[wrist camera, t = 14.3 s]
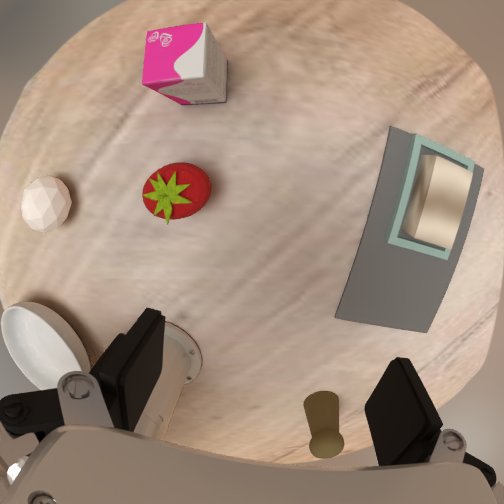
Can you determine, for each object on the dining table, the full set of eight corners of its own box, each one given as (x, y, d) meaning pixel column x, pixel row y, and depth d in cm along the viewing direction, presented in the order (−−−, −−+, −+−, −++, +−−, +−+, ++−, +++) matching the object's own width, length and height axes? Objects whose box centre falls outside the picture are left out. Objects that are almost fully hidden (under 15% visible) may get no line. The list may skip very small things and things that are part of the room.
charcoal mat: (425, 331, 39) (426, 333, 39) (334, 316, 39) (334, 318, 39) (482, 168, 31) (484, 168, 31) (390, 126, 31) (391, 126, 31)
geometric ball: (66, 184, 39) (38, 156, 31) (89, 210, 37) (59, 181, 29) (35, 220, 37) (5, 197, 30) (56, 250, 35) (21, 229, 28)
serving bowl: (10, 282, 43) (-12, 297, 36) (89, 298, 42) (65, 318, 35) (38, 367, 50) (22, 385, 43) (113, 392, 48) (99, 416, 42)
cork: (308, 389, 44) (314, 442, 34) (343, 392, 44) (354, 442, 33) (299, 412, 46) (302, 462, 35) (332, 414, 46) (339, 463, 35)
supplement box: (228, 58, 30) (208, 20, 19) (226, 103, 32) (205, 80, 21) (181, 62, 30) (145, 30, 19) (179, 105, 32) (140, 88, 21)
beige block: (421, 154, 31) (436, 155, 27) (456, 170, 31) (472, 173, 28) (401, 229, 34) (414, 237, 31) (436, 240, 34) (451, 249, 31)
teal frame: (443, 257, 35) (447, 260, 34) (384, 240, 35) (387, 243, 34) (470, 161, 31) (474, 161, 29) (412, 134, 31) (416, 133, 29)
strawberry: (225, 202, 36) (207, 220, 26) (167, 215, 37) (133, 236, 27) (214, 154, 34) (192, 155, 24) (156, 169, 35) (118, 177, 25)
